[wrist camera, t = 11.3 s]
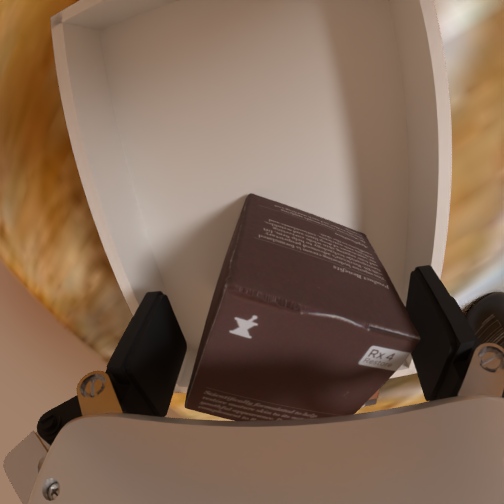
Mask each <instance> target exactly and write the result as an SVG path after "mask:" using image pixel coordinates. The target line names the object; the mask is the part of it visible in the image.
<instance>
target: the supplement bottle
mask: <svg viewBox="0 0 504 504" xmlns="http://www.w3.org/2000/svg"><path fill="white" fill-rule="evenodd" d="M465 317H466V319H467V321H468V322H469V324H470V326H471V328H472V329H473V331H474V333H475V335H476V337H477V339H478V340H479V342H480V344H484V343H494V344H497V345H499V346H501V347H502V348H503V349H504V292H496V293H492V294H490V295H487V296H485V297H484V298H482V299H481V300H479V301H478V302H477V303H476V304H474V305H473V306H472V307H471V308H470V309H469V310H468V312H467V313H466V314H465Z"/></svg>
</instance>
